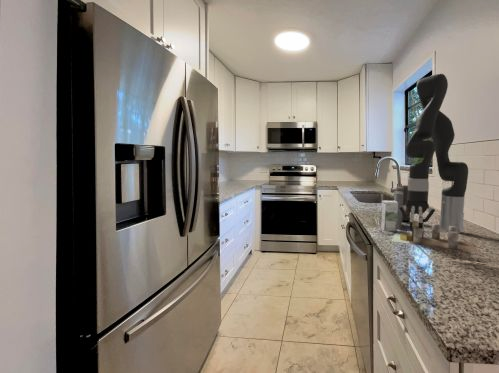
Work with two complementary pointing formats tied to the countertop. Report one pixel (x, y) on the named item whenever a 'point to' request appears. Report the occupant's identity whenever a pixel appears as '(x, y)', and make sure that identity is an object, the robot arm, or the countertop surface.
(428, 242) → the board
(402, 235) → the gold star hexagon
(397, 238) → the green pad
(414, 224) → the light wood t-shaped block
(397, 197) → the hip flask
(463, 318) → the countertop surface
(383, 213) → the syrup box
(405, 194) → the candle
